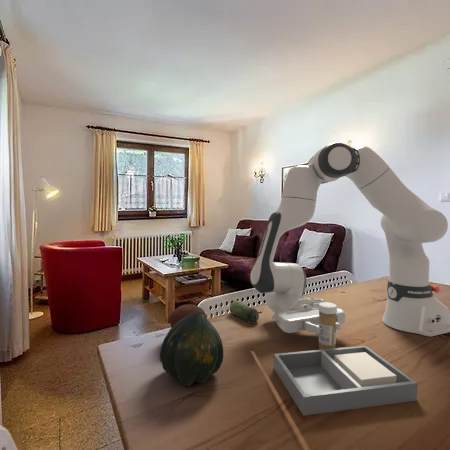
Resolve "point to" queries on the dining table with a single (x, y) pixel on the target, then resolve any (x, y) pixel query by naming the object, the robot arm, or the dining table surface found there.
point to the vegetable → (244, 311)
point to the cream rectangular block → (365, 369)
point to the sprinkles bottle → (327, 325)
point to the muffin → (183, 313)
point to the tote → (337, 382)
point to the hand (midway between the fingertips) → (329, 329)
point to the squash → (192, 350)
